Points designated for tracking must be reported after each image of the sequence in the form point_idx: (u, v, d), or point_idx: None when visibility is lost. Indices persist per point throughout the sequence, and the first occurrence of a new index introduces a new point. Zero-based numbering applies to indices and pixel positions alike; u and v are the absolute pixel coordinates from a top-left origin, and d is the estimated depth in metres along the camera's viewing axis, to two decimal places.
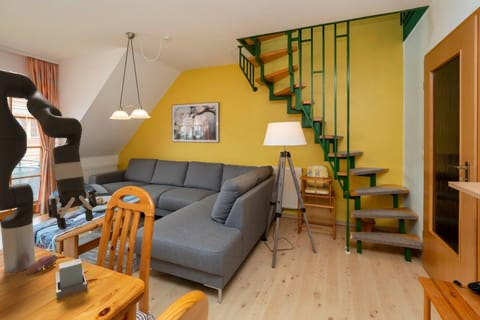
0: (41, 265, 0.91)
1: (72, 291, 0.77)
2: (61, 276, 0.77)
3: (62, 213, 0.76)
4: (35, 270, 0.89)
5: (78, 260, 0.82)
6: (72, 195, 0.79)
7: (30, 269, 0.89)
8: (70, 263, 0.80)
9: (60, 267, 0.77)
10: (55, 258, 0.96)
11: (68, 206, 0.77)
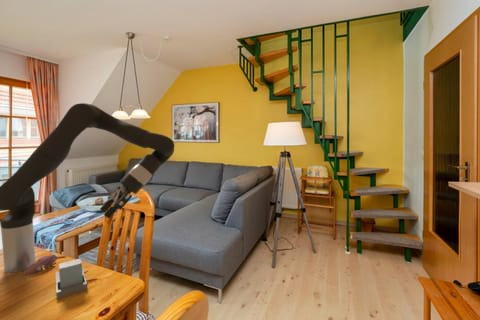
0: (41, 265, 0.91)
1: (72, 291, 0.77)
2: (61, 276, 0.77)
3: None
4: (35, 270, 0.89)
5: (78, 260, 0.82)
6: None
7: (30, 268, 0.89)
8: (70, 263, 0.80)
9: (60, 267, 0.77)
10: (55, 258, 0.96)
11: None
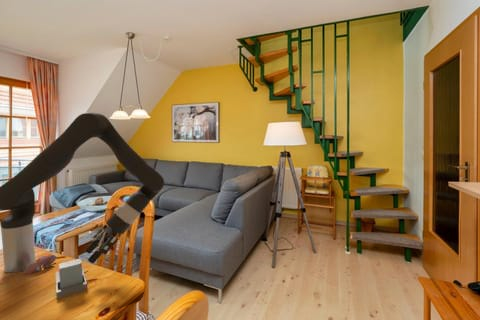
0: (40, 265, 0.91)
1: (72, 291, 0.77)
2: (61, 276, 0.77)
3: None
4: (34, 270, 0.89)
5: (78, 260, 0.82)
6: None
7: (28, 268, 0.89)
8: (70, 263, 0.80)
9: (60, 267, 0.77)
10: (54, 258, 0.96)
11: None
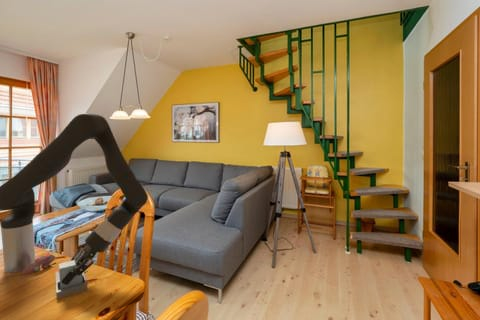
0: (38, 265, 0.91)
1: (72, 291, 0.77)
2: (61, 276, 0.77)
3: None
4: (32, 270, 0.89)
5: None
6: None
7: (27, 268, 0.89)
8: (70, 263, 0.80)
9: (60, 267, 0.77)
10: (52, 258, 0.96)
11: None
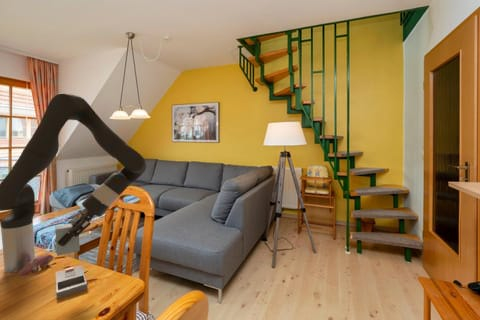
0: (37, 265, 0.91)
1: (72, 291, 0.77)
2: (57, 237, 0.76)
3: None
4: (31, 270, 0.89)
5: None
6: None
7: (25, 268, 0.89)
8: (67, 226, 0.78)
9: (56, 228, 0.76)
10: (51, 258, 0.97)
11: None
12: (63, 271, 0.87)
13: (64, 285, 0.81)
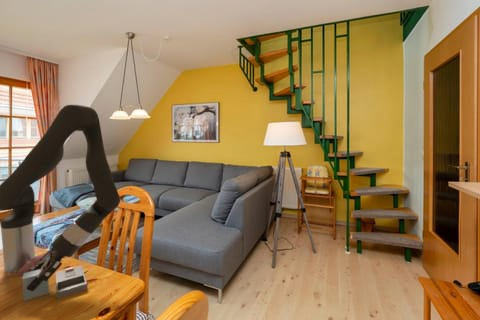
0: (34, 265, 0.91)
1: (72, 291, 0.77)
2: (24, 286, 0.74)
3: None
4: (28, 270, 0.90)
5: None
6: None
7: (23, 268, 0.89)
8: (35, 273, 0.77)
9: (24, 277, 0.74)
10: None
11: None
12: (63, 271, 0.87)
13: (64, 285, 0.81)
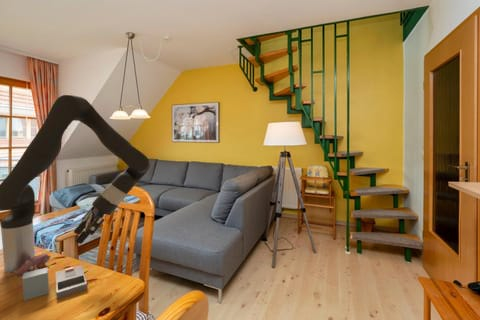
0: (33, 264, 0.91)
1: (72, 291, 0.77)
2: (24, 286, 0.74)
3: None
4: (27, 269, 0.90)
5: (44, 269, 0.79)
6: None
7: (22, 268, 0.89)
8: (35, 273, 0.77)
9: (24, 277, 0.74)
10: (47, 257, 0.97)
11: None
12: (63, 271, 0.87)
13: (64, 285, 0.81)
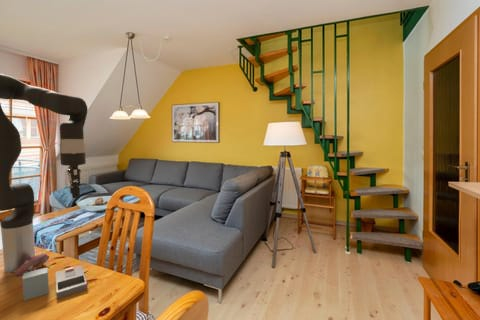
0: (32, 264, 0.91)
1: (72, 291, 0.77)
2: (24, 286, 0.74)
3: None
4: (26, 269, 0.90)
5: (44, 269, 0.79)
6: None
7: (21, 268, 0.89)
8: (35, 273, 0.77)
9: (24, 277, 0.74)
10: (46, 257, 0.97)
11: (80, 177, 0.88)
12: (63, 271, 0.87)
13: (64, 285, 0.81)
